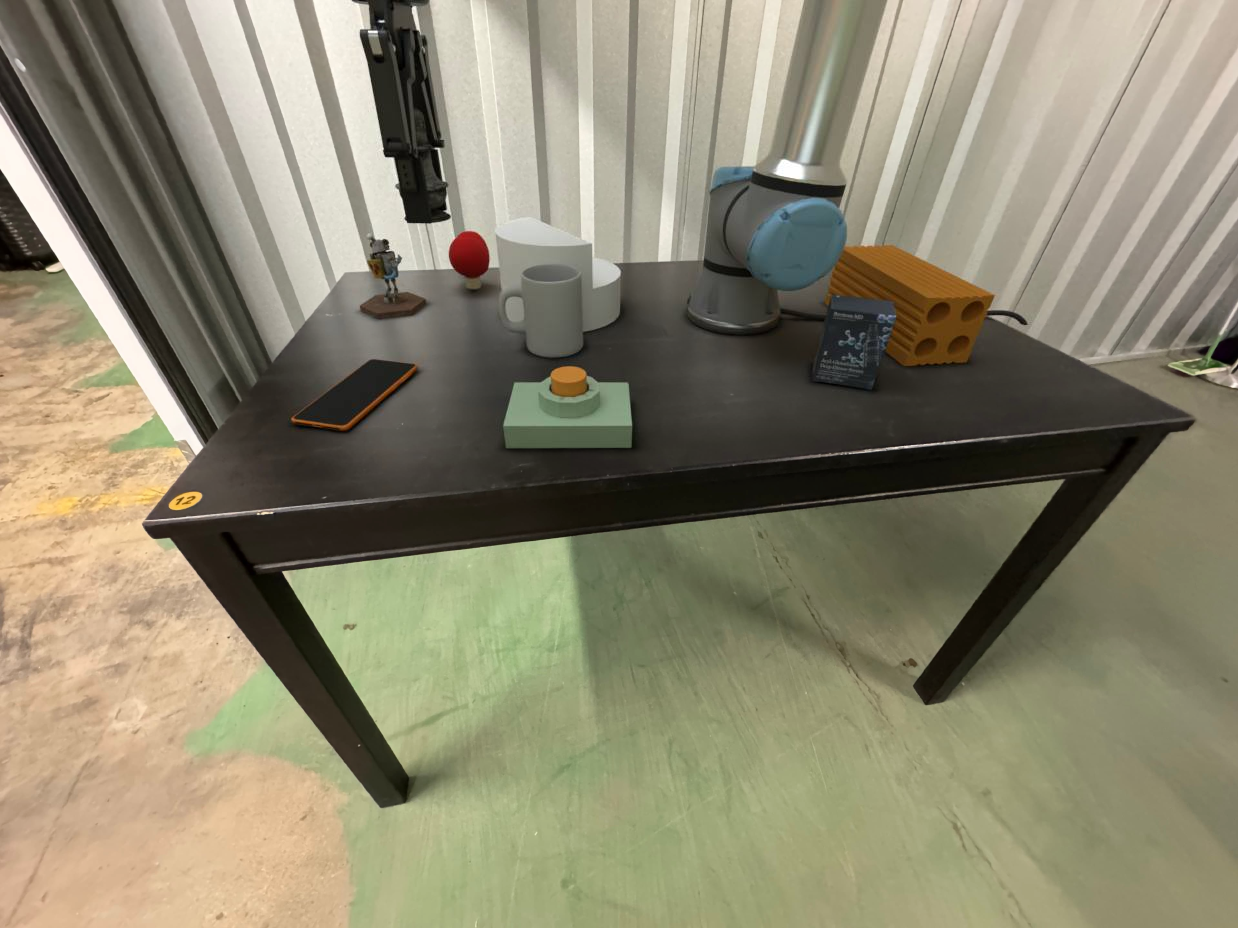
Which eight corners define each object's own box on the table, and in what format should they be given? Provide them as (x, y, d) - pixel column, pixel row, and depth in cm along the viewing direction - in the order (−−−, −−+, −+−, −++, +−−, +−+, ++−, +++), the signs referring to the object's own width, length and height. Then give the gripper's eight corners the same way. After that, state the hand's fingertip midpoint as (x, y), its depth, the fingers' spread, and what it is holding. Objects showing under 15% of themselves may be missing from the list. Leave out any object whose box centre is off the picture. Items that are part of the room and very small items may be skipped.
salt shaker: (438, 225, 62) (417, 98, 55) (391, 222, 63) (364, 97, 56) (462, 214, 67) (445, 96, 60) (417, 211, 68) (396, 94, 61)
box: (811, 382, 75) (830, 307, 69) (812, 365, 79) (830, 292, 73) (872, 391, 73) (897, 315, 67) (870, 373, 77) (893, 299, 71)
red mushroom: (487, 299, 99) (480, 241, 93) (449, 299, 99) (439, 241, 93) (497, 283, 106) (491, 228, 100) (461, 282, 106) (453, 227, 100)
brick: (966, 362, 81) (995, 295, 75) (904, 366, 80) (928, 298, 74) (875, 301, 101) (892, 245, 95) (824, 303, 100) (838, 246, 94)
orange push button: (587, 382, 64) (586, 366, 63) (586, 399, 61) (586, 382, 60) (552, 382, 64) (551, 366, 63) (550, 399, 61) (549, 382, 60)
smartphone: (290, 424, 64) (287, 418, 64) (372, 363, 77) (370, 358, 77) (347, 433, 63) (345, 426, 62) (421, 369, 76) (419, 363, 75)
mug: (578, 333, 87) (576, 262, 81) (587, 355, 81) (586, 280, 74) (502, 338, 85) (493, 266, 79) (504, 362, 79) (495, 285, 72)
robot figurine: (436, 308, 95) (423, 235, 88) (389, 323, 89) (370, 247, 82) (399, 293, 101) (384, 224, 94) (352, 307, 95) (332, 234, 88)
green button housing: (627, 403, 70) (628, 367, 67) (631, 448, 62) (632, 409, 59) (516, 403, 69) (512, 367, 66) (505, 448, 61) (500, 409, 58)
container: (643, 317, 93) (646, 234, 85) (537, 343, 84) (530, 253, 76) (581, 284, 106) (580, 210, 98) (485, 304, 97) (474, 223, 89)
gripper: (387, -69, 44) (439, 237, 57) (446, -35, 59) (476, 200, 73) (292, -71, 44) (366, 236, 57) (376, -37, 59) (419, 199, 72)
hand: (427, 215), depth 65 cm, fingers closed on salt shaker, 6 cm apart
